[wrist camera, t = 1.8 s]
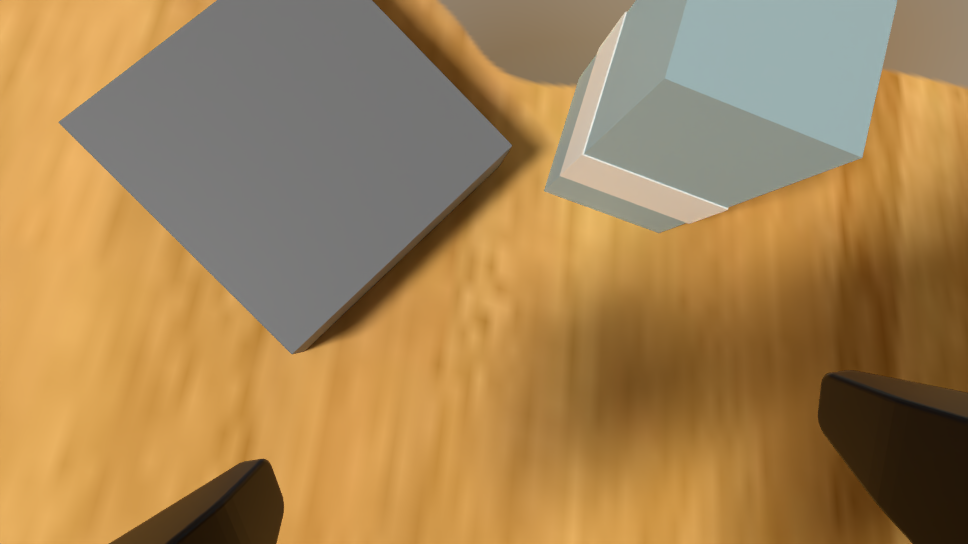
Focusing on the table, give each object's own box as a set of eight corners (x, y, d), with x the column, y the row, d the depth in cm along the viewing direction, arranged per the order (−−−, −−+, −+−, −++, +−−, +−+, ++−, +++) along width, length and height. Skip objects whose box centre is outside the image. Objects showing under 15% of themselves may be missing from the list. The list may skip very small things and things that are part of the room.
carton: (659, 234, 23) (863, 160, 13) (542, 191, 22) (661, 79, 12) (691, 120, 23) (906, -32, 14) (578, 76, 23) (718, -117, 13)
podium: (498, 166, 22) (512, 145, 19) (304, 351, 20) (292, 354, 18) (315, -23, 21) (305, -69, 19) (100, 148, 20) (58, 122, 17)
